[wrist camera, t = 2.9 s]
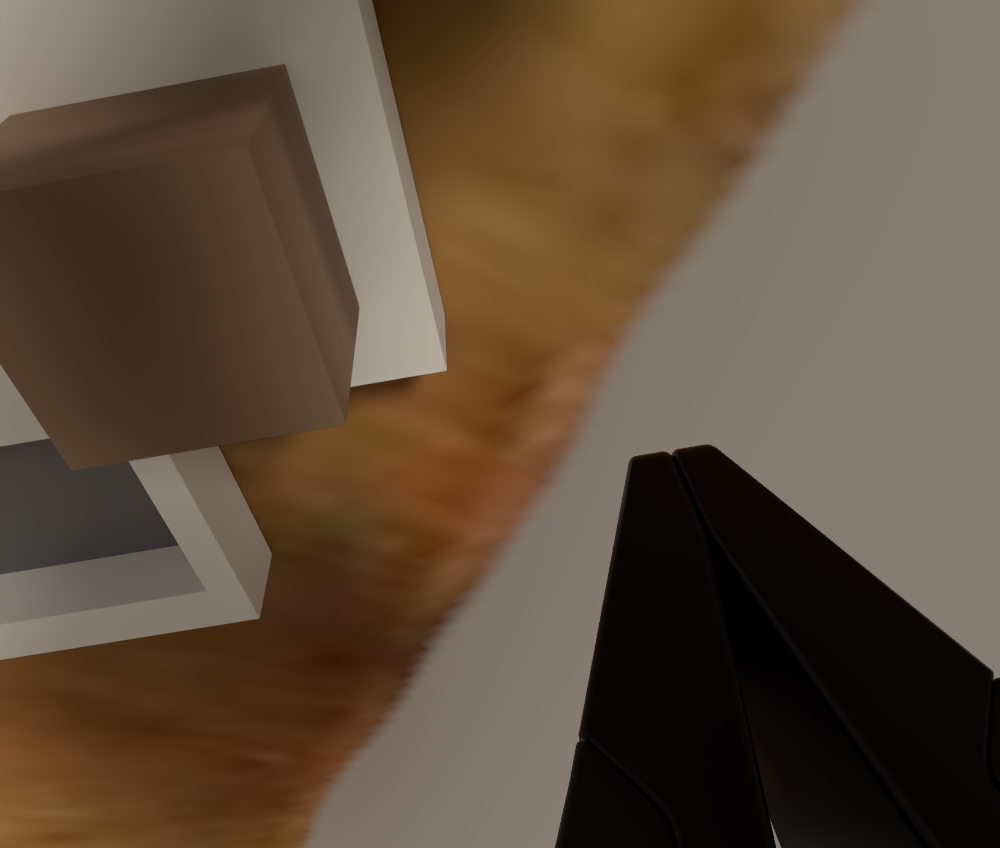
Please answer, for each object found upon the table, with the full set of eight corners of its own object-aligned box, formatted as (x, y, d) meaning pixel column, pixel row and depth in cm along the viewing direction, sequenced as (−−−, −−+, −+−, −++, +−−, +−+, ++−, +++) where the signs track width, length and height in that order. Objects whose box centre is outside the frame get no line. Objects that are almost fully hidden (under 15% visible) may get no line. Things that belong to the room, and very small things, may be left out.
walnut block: (285, 63, 14) (247, 146, 11) (359, 307, 17) (345, 424, 14) (10, 115, 14) (-103, 210, 11) (133, 346, 18) (70, 471, 14)
